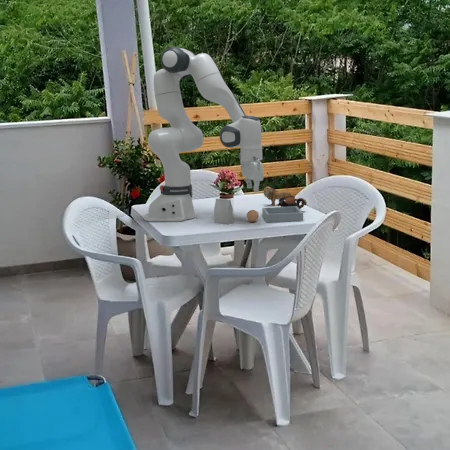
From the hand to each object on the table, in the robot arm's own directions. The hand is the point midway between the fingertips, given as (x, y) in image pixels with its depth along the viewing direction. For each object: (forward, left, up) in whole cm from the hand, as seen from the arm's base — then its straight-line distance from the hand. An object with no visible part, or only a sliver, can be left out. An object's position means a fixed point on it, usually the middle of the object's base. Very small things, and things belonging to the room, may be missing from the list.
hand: (252, 189), depth 320 cm
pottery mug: (+19, +18, -14) cm, 30 cm away
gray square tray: (+13, +4, -14) cm, 19 cm away
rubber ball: (0, 0, -14) cm, 14 cm away
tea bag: (-12, +1, -14) cm, 19 cm away
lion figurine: (+16, +34, -14) cm, 40 cm away
